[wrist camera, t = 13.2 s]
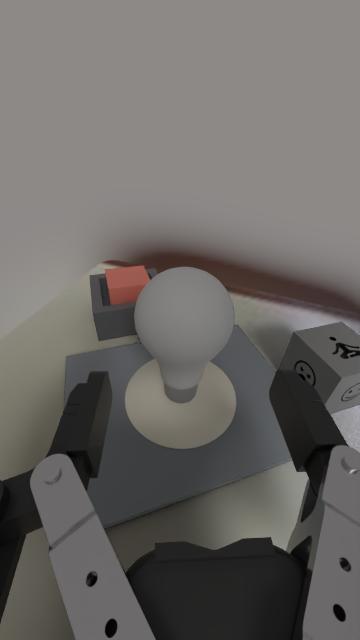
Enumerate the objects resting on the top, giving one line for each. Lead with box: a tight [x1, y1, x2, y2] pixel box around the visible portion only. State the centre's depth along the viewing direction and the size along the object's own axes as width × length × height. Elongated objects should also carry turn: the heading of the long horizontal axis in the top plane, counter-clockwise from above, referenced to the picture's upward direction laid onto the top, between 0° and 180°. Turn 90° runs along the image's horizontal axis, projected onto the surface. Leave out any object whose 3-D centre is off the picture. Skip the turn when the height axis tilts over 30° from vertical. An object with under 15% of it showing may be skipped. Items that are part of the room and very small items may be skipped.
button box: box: [90, 268, 158, 341], centre depth 29 cm, size 8×8×4 cm
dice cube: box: [279, 322, 360, 414], centre depth 21 cm, size 5×5×5 cm
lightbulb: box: [134, 267, 234, 403], centre depth 17 cm, size 6×6×11 cm
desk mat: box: [64, 325, 292, 529], centre depth 21 cm, size 18×14×1 cm
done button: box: [105, 266, 150, 305], centre depth 28 cm, size 4×4×2 cm
